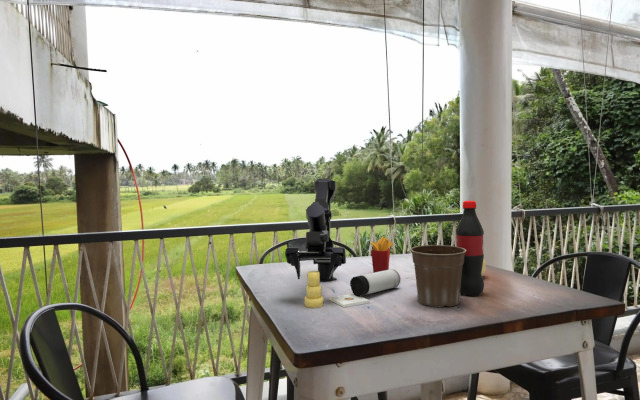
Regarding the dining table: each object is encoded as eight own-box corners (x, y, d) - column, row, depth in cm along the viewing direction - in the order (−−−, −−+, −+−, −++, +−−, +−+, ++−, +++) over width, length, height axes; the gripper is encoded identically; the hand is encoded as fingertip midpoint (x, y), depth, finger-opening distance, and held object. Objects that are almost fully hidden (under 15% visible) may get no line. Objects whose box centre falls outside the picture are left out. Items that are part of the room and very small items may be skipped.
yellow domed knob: (301, 304, 127) (301, 271, 127) (318, 301, 130) (317, 269, 129) (309, 309, 122) (308, 275, 122) (326, 306, 125) (325, 272, 124)
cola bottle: (483, 291, 138) (483, 199, 136) (484, 298, 130) (484, 201, 128) (456, 289, 140) (455, 200, 139) (456, 296, 132) (455, 201, 131)
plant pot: (459, 313, 116) (458, 255, 115) (403, 305, 124) (402, 251, 123) (472, 298, 129) (471, 246, 129) (421, 292, 138) (420, 243, 137)
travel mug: (404, 283, 142) (366, 292, 128) (390, 289, 146) (352, 299, 132) (397, 266, 144) (359, 273, 130) (383, 272, 148) (345, 280, 134)
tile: (329, 300, 131) (329, 297, 131) (354, 296, 135) (354, 293, 135) (343, 307, 123) (343, 304, 123) (369, 302, 127) (369, 300, 127)
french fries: (370, 275, 164) (370, 237, 163) (375, 271, 171) (374, 234, 171) (393, 277, 161) (392, 238, 160) (396, 272, 168) (396, 235, 168)
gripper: (285, 221, 132) (278, 263, 121) (344, 221, 130) (342, 263, 119) (290, 243, 140) (284, 283, 129) (346, 243, 138) (345, 284, 127)
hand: (313, 278), depth 126 cm, fingers open, 9 cm apart
